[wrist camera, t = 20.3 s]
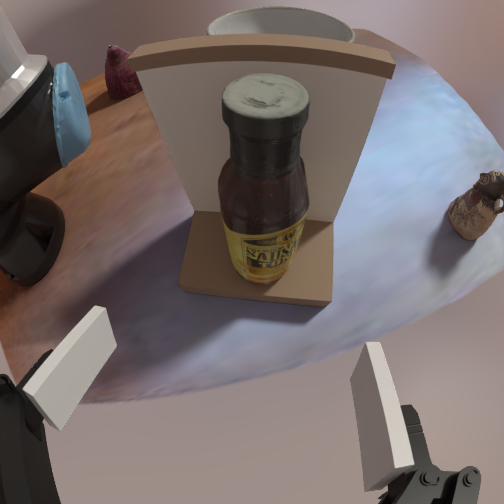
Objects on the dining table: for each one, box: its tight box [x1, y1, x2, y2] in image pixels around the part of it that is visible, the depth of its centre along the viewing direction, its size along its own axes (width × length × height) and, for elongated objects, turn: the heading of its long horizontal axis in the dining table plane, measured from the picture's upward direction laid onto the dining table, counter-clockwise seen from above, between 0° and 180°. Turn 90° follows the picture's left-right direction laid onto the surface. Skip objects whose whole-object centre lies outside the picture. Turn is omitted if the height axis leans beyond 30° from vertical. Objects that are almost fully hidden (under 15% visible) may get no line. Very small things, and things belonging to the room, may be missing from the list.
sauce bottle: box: [218, 73, 310, 285], centre depth 20 cm, size 6×6×20 cm
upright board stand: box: [127, 34, 396, 307], centre depth 22 cm, size 17×11×23 cm, turn 83°
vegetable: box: [105, 45, 143, 99], centre depth 43 cm, size 10×10×15 cm
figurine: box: [448, 170, 504, 240], centre depth 27 cm, size 7×7×12 cm
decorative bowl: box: [206, 6, 355, 43], centre depth 42 cm, size 27×27×12 cm
